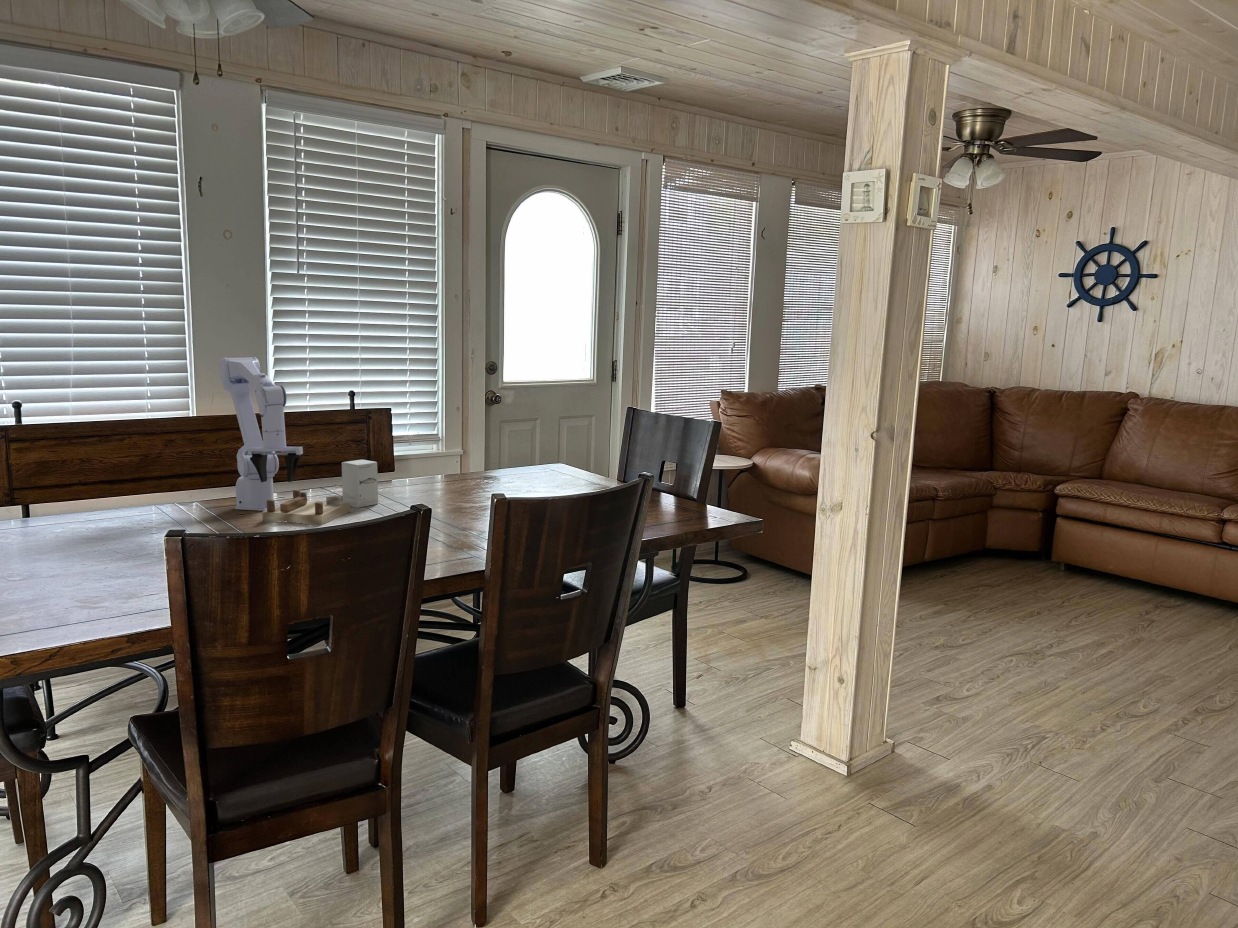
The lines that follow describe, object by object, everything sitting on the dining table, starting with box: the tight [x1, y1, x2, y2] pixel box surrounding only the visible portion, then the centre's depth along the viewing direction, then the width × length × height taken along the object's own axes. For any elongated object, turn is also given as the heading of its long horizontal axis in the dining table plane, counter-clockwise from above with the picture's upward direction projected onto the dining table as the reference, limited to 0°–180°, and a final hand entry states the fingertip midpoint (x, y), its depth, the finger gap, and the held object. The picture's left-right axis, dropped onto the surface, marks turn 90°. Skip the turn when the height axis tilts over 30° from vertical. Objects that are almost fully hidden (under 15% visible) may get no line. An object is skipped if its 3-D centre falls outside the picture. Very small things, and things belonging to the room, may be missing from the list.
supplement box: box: [341, 459, 379, 509], centre depth 262 cm, size 7×7×13 cm
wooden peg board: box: [261, 489, 351, 526], centre depth 248 cm, size 17×16×6 cm
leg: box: [280, 491, 308, 512], centre depth 246 cm, size 11×2×3 cm, turn 170°
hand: (277, 481), depth 244 cm, fingers open, 7 cm apart
